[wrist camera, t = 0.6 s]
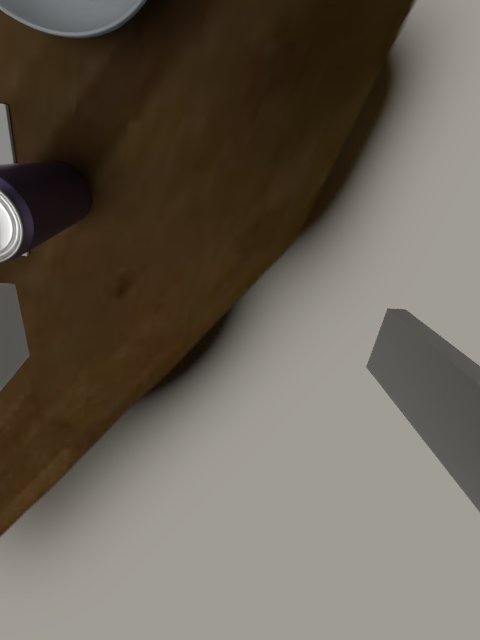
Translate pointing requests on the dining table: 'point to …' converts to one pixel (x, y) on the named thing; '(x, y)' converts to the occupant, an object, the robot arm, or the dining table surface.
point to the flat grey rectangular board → (6, 140)
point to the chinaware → (73, 15)
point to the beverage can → (38, 204)
